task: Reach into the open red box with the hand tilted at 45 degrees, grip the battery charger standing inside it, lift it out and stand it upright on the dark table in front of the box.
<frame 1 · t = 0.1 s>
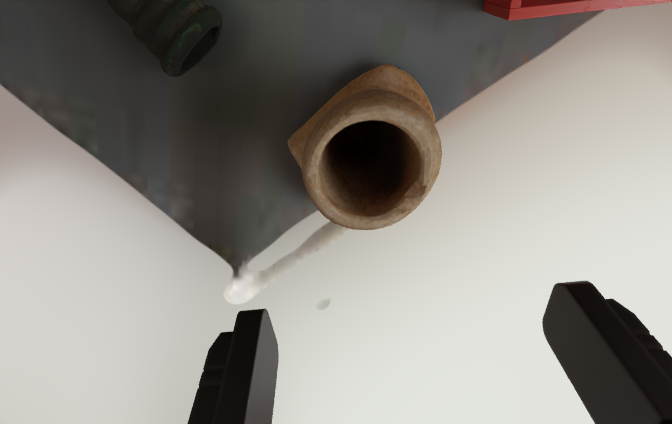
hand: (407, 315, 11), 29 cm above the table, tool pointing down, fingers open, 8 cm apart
stone cup: (351, 125, 38), on the table
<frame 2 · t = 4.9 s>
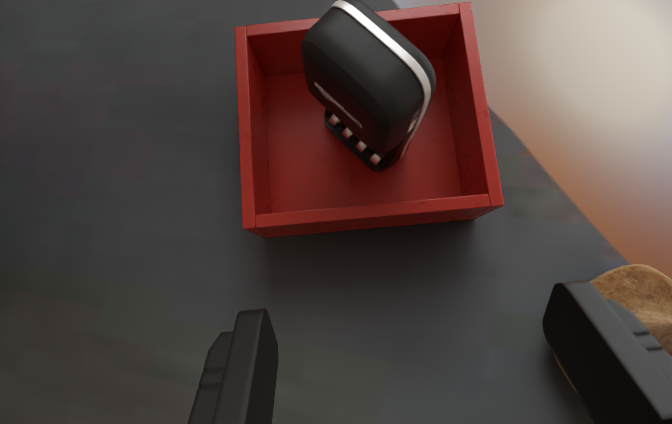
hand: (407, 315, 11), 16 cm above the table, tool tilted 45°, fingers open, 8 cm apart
open red box: (359, 140, 28), on the table
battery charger: (359, 140, 28), resting on open red box
stone cup: (639, 386, 25), on the table
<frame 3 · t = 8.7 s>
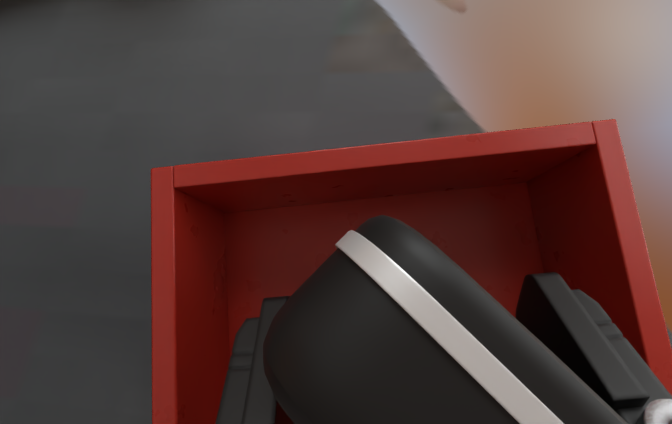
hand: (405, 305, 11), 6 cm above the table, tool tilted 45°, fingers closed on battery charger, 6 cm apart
open red box: (388, 331, 16), on the table
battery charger: (388, 332, 16), resting on open red box, touching gripper
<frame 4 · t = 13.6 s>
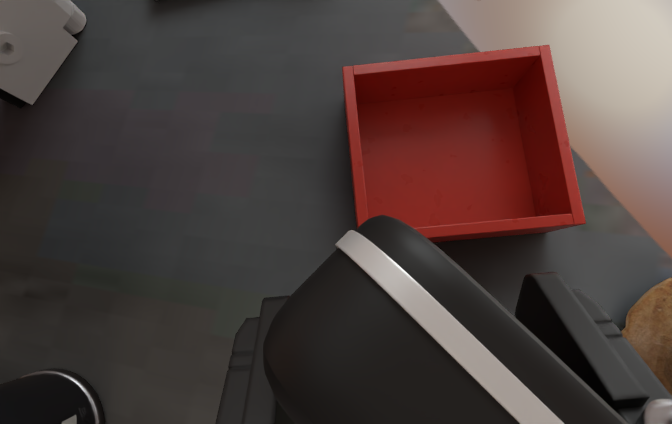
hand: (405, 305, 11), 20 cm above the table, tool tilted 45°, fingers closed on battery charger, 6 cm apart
open red box: (440, 162, 32), on the table
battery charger: (388, 332, 16), point 14 cm above the table, touching gripper
hinge: (48, 42, 36), on the table
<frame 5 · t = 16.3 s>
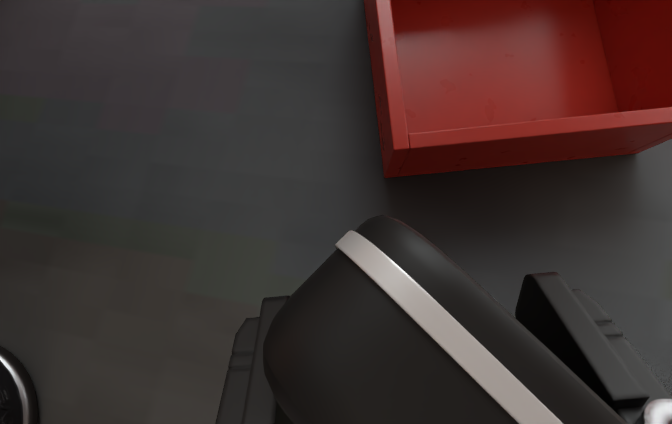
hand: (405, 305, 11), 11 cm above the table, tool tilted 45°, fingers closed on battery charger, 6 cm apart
open red box: (492, 65, 24), on the table
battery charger: (388, 332, 16), point 6 cm above the table, touching gripper
when the fingers open (6 cm above the table, at t = 18.5 s): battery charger stays where it is, on the table.
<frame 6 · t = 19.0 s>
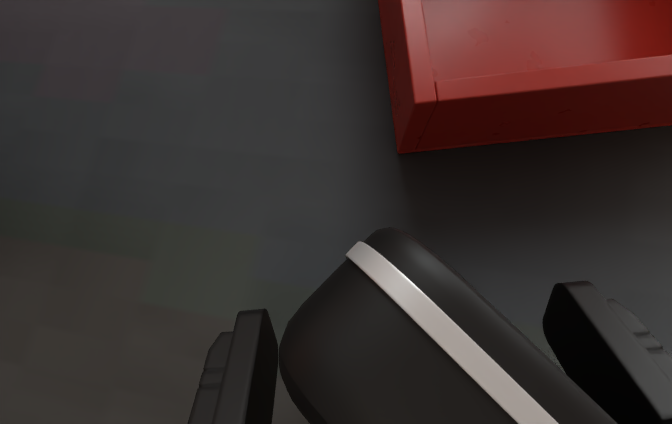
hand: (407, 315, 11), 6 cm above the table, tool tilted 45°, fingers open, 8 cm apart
open red box: (534, 11, 19), on the table
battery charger: (392, 334, 17), on the table
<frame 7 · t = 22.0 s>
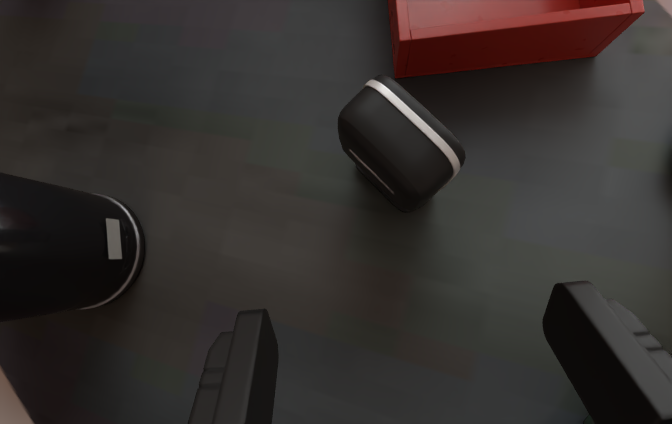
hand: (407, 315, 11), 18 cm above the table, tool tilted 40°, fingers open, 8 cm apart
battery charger: (388, 180, 30), on the table
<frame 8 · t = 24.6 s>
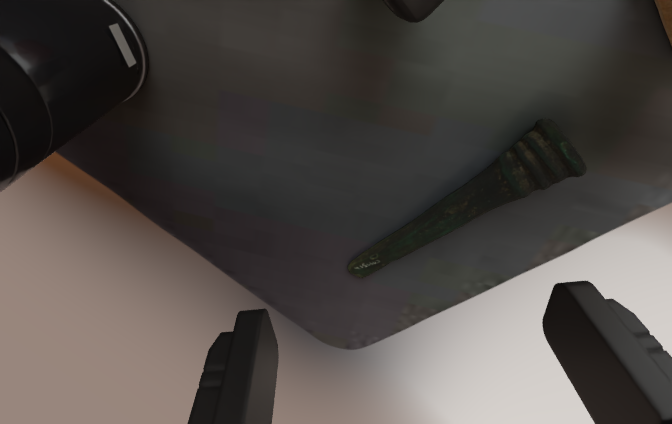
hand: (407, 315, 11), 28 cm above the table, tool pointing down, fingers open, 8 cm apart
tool: (444, 209, 43), on the table
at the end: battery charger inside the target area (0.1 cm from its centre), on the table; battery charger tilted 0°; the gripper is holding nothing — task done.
